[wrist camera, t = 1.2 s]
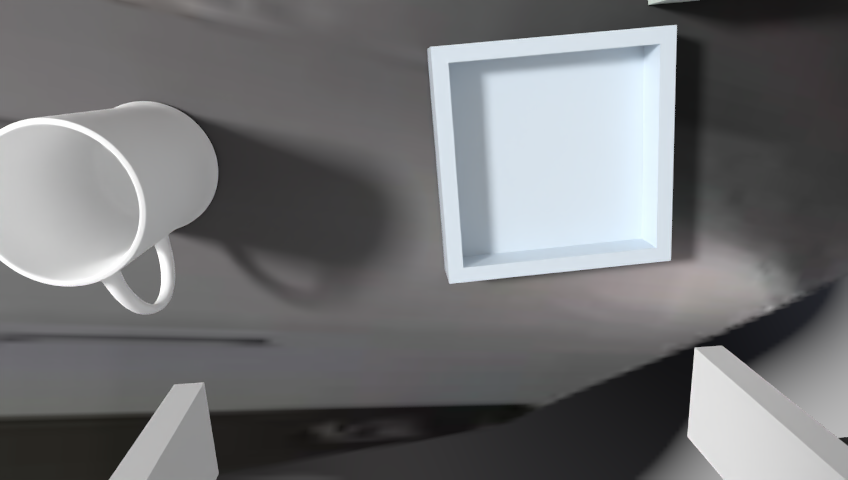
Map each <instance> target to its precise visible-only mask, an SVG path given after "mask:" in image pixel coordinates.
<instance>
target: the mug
mask: <svg viewBox="0 0 848 480" xmlns="http://www.w3.org/2000/svg"><path fill="white" fill-rule="evenodd" d="M217 183H218V162H217V158H216V154H215V151H214V148H213V146H212V144H211V142H210V140H209V138H208V137H207V135H206V134H205V132H204V131H203V130H202V129H201V127H200V126H199V125H198V124H197V123H196V122H195V121H194V120H192V119H191V118H190V117H189V116H187V115H186V114H184V113H183V112H181V111H179V110H177V109H175V108H173V107H171V106H168V105H165V104H162V103H157V102H150V101H137V102H130V103H126V104H123V105H120V106H117V107H115V108H113V109H105V110H96V111H88V112H80V113H72V114H63V115H55V116H47V117H39V118H32V119H26V120H22V121H18V122H15V123H13V124H10V125H8V126H6V127H4V128H2V129H0V260H1V261H2V262H3V263H4V264H6V265H7V266H8V267H10V268H11V269H13V270H15V271H16V272H18V273H20V274H22V275H24V276H26V277H28V278H30V279H33V280H36V281H39V282H42V283H46V284H50V285H57V286H81V285H87V284H92V283H95V282H98V281H101V282H102V283H103V284H104V285H105V286H106V287H107V289H108V290H109V291H110V293H111V294H112V295H113V296H114V297H115V298H116V300H117V301H119V302H120V303H121V304H122V305H123V306H124V307H126V308H127V309H129V310H131V311H133V312H135V313H138V314H152V313H156V312H158V311H160V310H162V309H163V308H164V307H165V306H166V305H167V304H168V303H169V301H170V299H171V297H172V295H173V291H174V286H175V265H174V258H173V253H172V248H171V245H170V241H169V235H168V234H170V233H171V232H172V231H174V230H175V229H177V228H180V227H183V226H185V225H187V224H189V223H191V222H192V221H194V220H195V219H197V218H198V217H199V216H200V215H201V214H202V213H203V212H204V211H205V210H206V208H207V207H208V206H209V204H210V203H211V201H212V199H213V197H214V194H215V191H216V188H217ZM153 245H154V246H155V248H156V250H157V253H158V257H159V261H160V267H161V289H160V293H159V296H158V299H157V300H156V302H155V303H154V304H149V303H146V302H144V301H143V300H141V299H140V298H139V297H138V296H137V295H136V294H135V293H134V292H133V291H132V290H131V289H130V287H129V286H128V285H127V283H126V282H125V280H124V278H123V276H122V273H121V271H120V270H121V269H122V268H123V267H125V266H126V265H127V264H129V263H130V262H132V261H133V260H134V259H136V258H137V257H138V256H140V255H141V254H142V253H144V252H145V251H147V250H148V249H149V248H151V247H152V246H153Z"/></svg>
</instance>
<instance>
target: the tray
mask: <svg viewBox="0 0 848 480" xmlns="http://www.w3.org/2000/svg"><path fill="white" fill-rule="evenodd" d="M676 43H677V25H670V26H659V27H648V28H637V29H626V30H614V31H603V32H592V33H581V34H569V35H558V36H547V37H536V38H524V39H513V40H502V41H491V42H480V43H468V44H457V45H446V46H435V47H429V48H428V49H427V55H428V68H429V80H430V92H431V104H432V116H433V129H434V141H435V153H436V165H437V177H438V190H439V202H440V214H441V226H442V238H443V251H444V263H445V271H446V274H447V277H448V281H449V284H451V283H461V282H470V281H480V280H490V279H499V278H509V277H518V276H528V275H537V274H547V273H557V272H566V271H576V270H585V269H595V268H604V267H614V266H624V265H633V264H643V263H652V262H662V261H671V238H672V199H673V160H674V121H675V82H676Z"/></svg>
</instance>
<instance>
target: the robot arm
mask: <svg viewBox="0 0 848 480" xmlns="http://www.w3.org/2000/svg"><path fill="white" fill-rule="evenodd" d="M687 437H688V438H689V439H690V440H691V441H692V443H693V444H694V445H695V446H696V447H697V448H698V450H699V451H700V452H701V453H702V454H703V456H704V457H705V458H706V459H707V460H708V461H709V463H710V464H711V465H712V466H713V468H714V469H715V470H716V471H717V472H718V473H719V475H721V477H722V478H723V479H724V480H848V437H844V438H837V437H836V436H835V435H834V434H832V433H831V432H830V431H828V430H827V429H826V428H825V427H824V426H822V425H821V424H820V423H819V422H817V421H816V420H815V419H813V418H812V417H811V416H810V415H808V414H807V413H806V412H805V411H803V410H802V409H801V408H800V407H798V406H797V405H796V404H795V403H793V402H792V401H791V400H789V399H788V398H787V397H786V396H785V395H783V394H782V393H781V392H780V391H778V390H777V389H776V388H774V387H773V386H772V385H771V384H770V383H768V382H767V381H766V380H765V379H763V378H762V377H761V376H760V375H758V374H757V373H756V372H754V371H753V370H752V369H751V368H749V367H748V366H747V365H746V364H744V363H743V362H742V361H741V360H739V359H738V358H737V357H736V356H734V355H733V354H732V353H731V352H729V351H728V350H727V349H725V348H724V347H723V346H711V347H697V348H695V351H694V364H693V375H692V387H691V399H690V412H689V423H688V435H687ZM217 476H218V467H217V460H216V454H215V448H214V442H213V435H212V429H211V423H210V416H209V410H208V404H207V398H206V391H205V385H204V382H203V383H189V384H175V385H174V386H173V387H172V389H171V390H170V391H169V393H168V394H167V396H166V397H165V399H164V400H163V402H162V403H161V405H160V406H159V408H158V409H157V410H156V412H155V413H154V415H153V416H152V418H151V419H150V421H149V422H148V424H147V425H146V427H145V428H144V430H143V431H142V432H141V434H140V435H139V437H138V438H137V440H136V441H135V443H134V444H133V446H132V447H131V449H130V450H129V451H128V453H127V454H126V456H125V457H124V459H123V460H122V462H121V463H120V465H119V466H118V468H117V469H116V470H115V472H114V473H113V475H112V476H111V478H110V479H109V480H216V478H217Z"/></svg>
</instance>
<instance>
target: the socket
mask: <svg viewBox="0 0 848 480" xmlns="http://www.w3.org/2000/svg"><path fill="white" fill-rule="evenodd" d="M687 1H698V0H648V5H653V4H664V3H675V2H687Z"/></svg>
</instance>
